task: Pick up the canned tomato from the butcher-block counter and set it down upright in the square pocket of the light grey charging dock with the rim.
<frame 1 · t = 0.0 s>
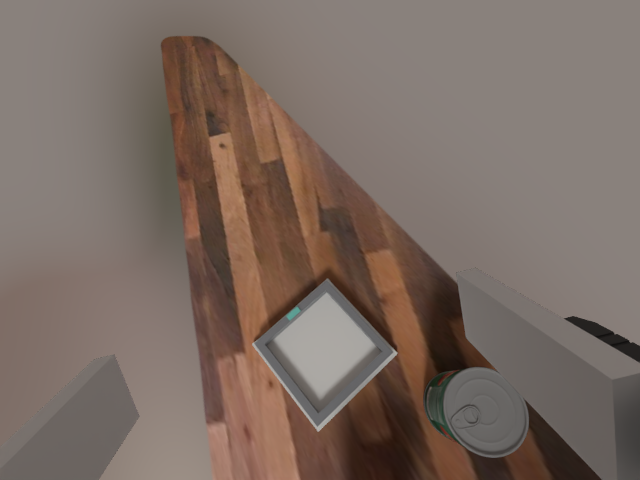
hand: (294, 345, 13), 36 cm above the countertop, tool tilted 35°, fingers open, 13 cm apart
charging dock: (323, 349, 47), on the countertop
canned tomato: (454, 404, 43), on the countertop
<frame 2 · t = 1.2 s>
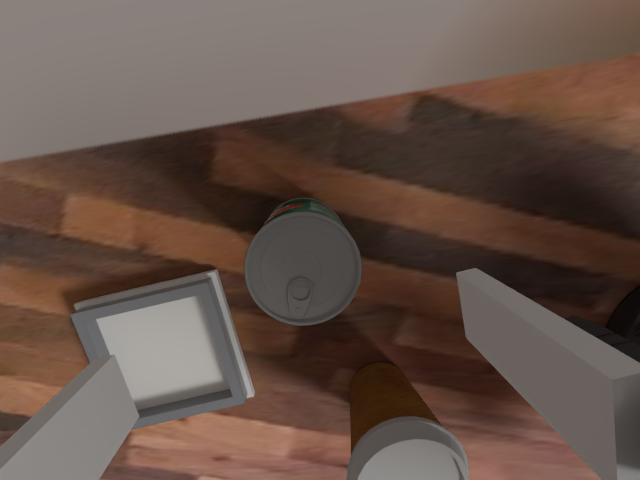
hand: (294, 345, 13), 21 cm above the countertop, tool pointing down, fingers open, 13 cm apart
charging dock: (170, 348, 35), on the countertop
disposable coffee cup: (378, 387, 37), on the countertop
canned tomato: (303, 237, 34), on the countertop
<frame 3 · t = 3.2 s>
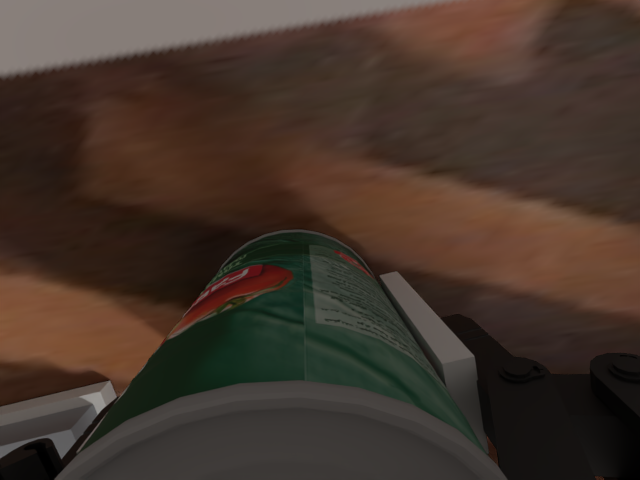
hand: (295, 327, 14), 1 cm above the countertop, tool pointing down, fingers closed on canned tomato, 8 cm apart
canned tomato: (295, 312, 16), on the countertop, touching gripper
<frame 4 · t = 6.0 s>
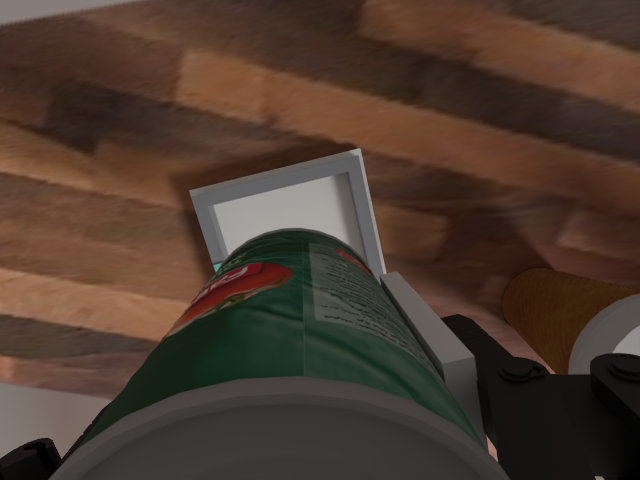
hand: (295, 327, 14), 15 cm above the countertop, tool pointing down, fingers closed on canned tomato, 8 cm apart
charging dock: (296, 250, 30), on the countertop
disposable coffee cup: (533, 299, 32), on the countertop
canned tomato: (295, 311, 16), point 14 cm above the countertop, touching gripper
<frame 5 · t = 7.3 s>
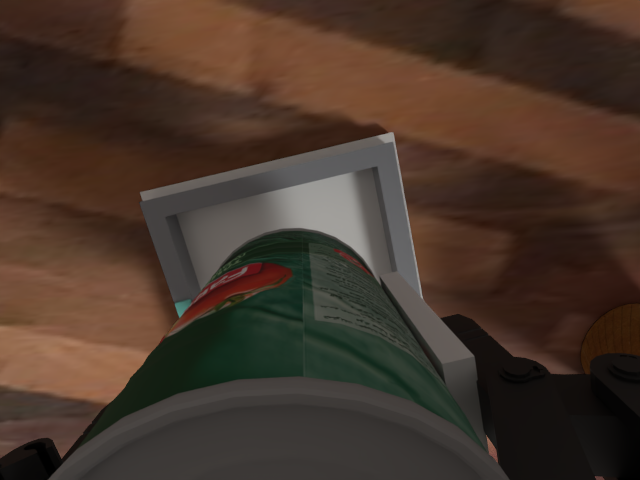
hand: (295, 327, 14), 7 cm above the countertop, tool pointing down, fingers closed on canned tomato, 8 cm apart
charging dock: (298, 278, 21), on the countertop
disposable coffee cup: (623, 345, 23), on the countertop
canned tomato: (295, 311, 16), point 5 cm above the countertop, touching gripper
when the fingers open (4 cm above the countertop, at t = 8.6 s): canned tomato drops 2 cm, resting on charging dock.
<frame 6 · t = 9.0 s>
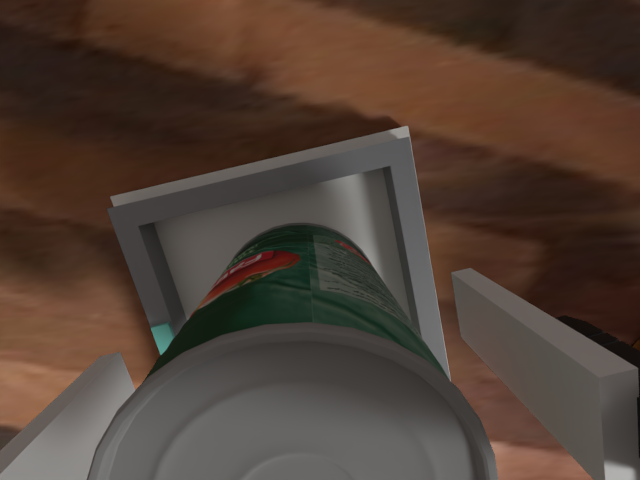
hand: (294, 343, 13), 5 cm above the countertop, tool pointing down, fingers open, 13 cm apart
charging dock: (296, 294, 18), on the countertop
canned tomato: (301, 298, 17), point 1 cm above the countertop, touching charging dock
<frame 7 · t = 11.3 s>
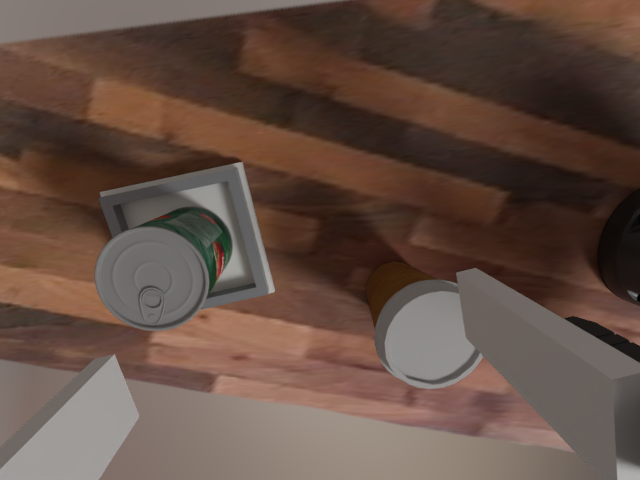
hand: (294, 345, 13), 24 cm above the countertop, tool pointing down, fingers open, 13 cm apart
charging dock: (193, 243, 36), on the countertop
disposable coffee cup: (392, 287, 39), on the countertop
canned tomato: (194, 244, 35), point 1 cm above the countertop, touching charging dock
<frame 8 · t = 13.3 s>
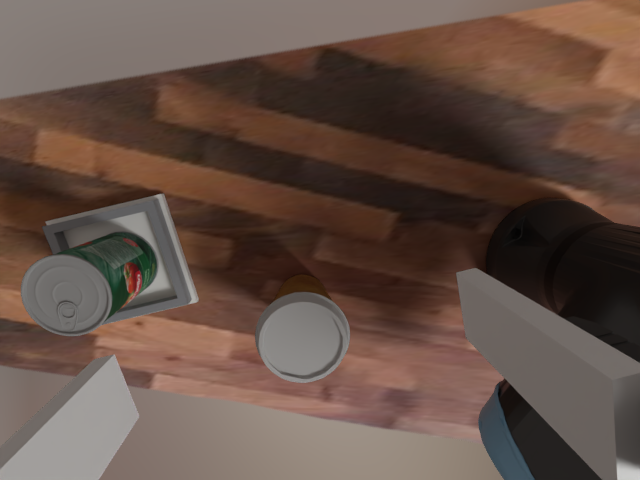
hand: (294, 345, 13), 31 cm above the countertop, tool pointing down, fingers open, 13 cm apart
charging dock: (127, 261, 43), on the countertop
disposable coffee cup: (302, 296, 45), on the countertop
canned tomato: (126, 262, 42), point 1 cm above the countertop, touching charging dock
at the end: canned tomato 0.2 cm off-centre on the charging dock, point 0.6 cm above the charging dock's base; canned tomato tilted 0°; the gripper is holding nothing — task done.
